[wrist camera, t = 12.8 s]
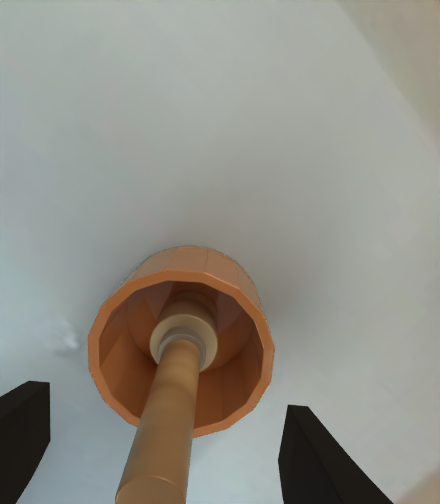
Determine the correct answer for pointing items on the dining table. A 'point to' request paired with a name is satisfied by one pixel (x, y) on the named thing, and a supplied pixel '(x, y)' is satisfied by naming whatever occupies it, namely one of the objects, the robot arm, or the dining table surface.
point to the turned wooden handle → (171, 402)
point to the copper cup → (144, 320)
